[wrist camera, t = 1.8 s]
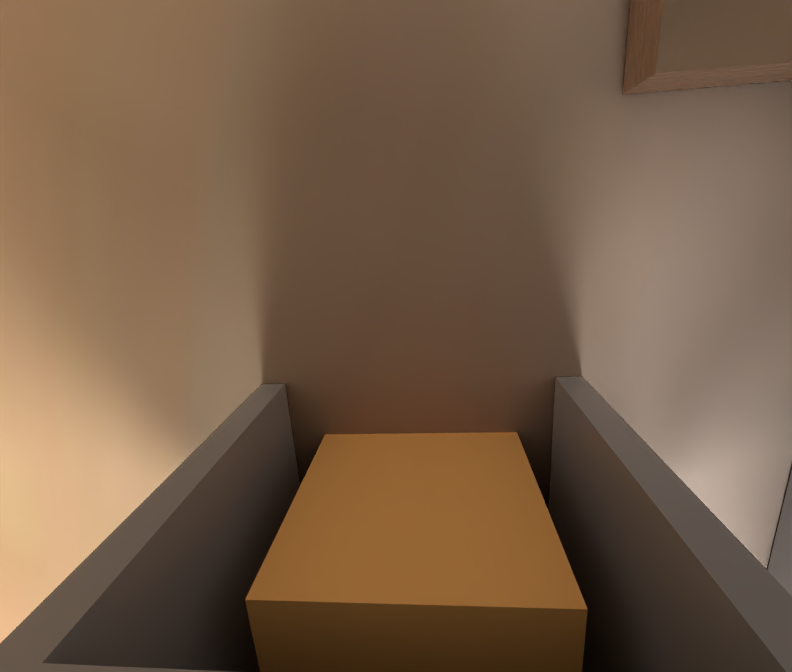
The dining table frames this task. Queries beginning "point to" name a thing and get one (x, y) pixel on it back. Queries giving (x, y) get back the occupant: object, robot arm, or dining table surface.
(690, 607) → the hiding cup
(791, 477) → the grey cube box
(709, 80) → the balance scale
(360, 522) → the orange block
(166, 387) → the dining table surface
